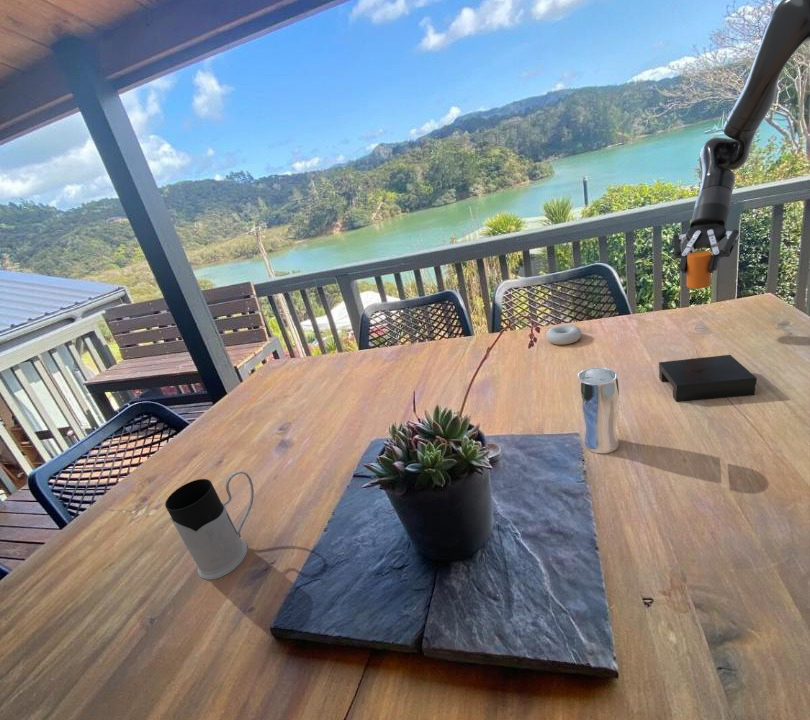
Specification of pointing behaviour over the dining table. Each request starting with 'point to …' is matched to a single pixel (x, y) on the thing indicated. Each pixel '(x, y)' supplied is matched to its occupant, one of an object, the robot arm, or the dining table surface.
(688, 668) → the dining table surface
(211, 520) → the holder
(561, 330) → the donut
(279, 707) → the dining table surface
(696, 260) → the candle
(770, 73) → the robot arm
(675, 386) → the black display riser
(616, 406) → the silver metal tumbler
